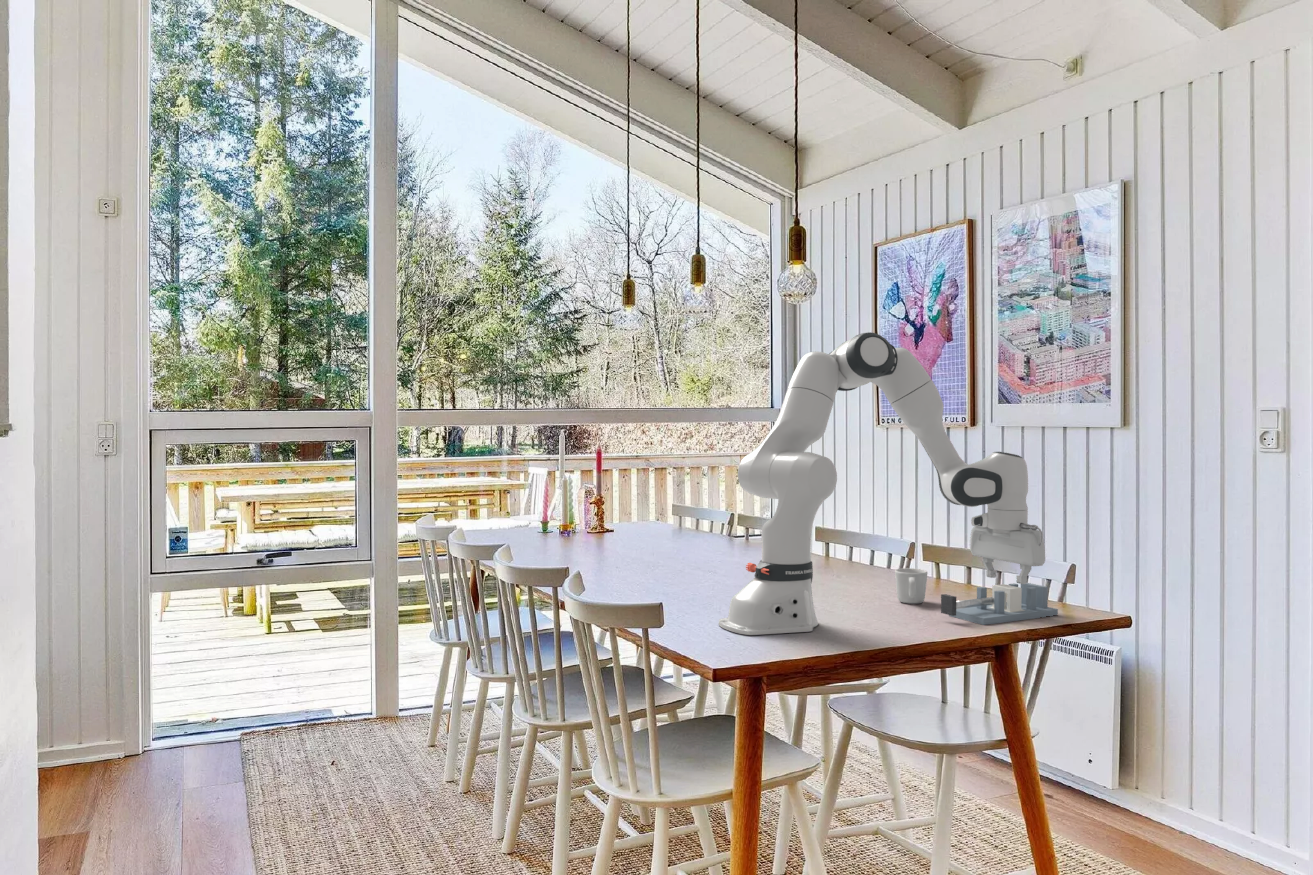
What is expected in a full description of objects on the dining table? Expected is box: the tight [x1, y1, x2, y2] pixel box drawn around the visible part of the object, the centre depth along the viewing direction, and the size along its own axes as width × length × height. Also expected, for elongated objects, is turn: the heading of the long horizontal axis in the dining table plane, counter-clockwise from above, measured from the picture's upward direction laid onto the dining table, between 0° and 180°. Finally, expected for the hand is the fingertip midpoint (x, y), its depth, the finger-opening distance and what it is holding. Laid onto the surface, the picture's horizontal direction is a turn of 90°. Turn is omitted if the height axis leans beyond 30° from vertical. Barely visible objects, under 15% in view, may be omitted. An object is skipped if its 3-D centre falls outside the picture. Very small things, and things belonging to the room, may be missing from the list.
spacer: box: [991, 583, 1022, 611], centre depth 222 cm, size 4×6×5 cm, turn 25°
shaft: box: [940, 593, 994, 617], centre depth 217 cm, size 14×4×4 cm, turn 115°
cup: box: [894, 567, 928, 605], centre depth 237 cm, size 11×8×8 cm
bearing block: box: [948, 582, 1059, 626], centre depth 222 cm, size 23×11×6 cm, turn 115°
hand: (1006, 580), depth 221 cm, fingers open, 8 cm apart
